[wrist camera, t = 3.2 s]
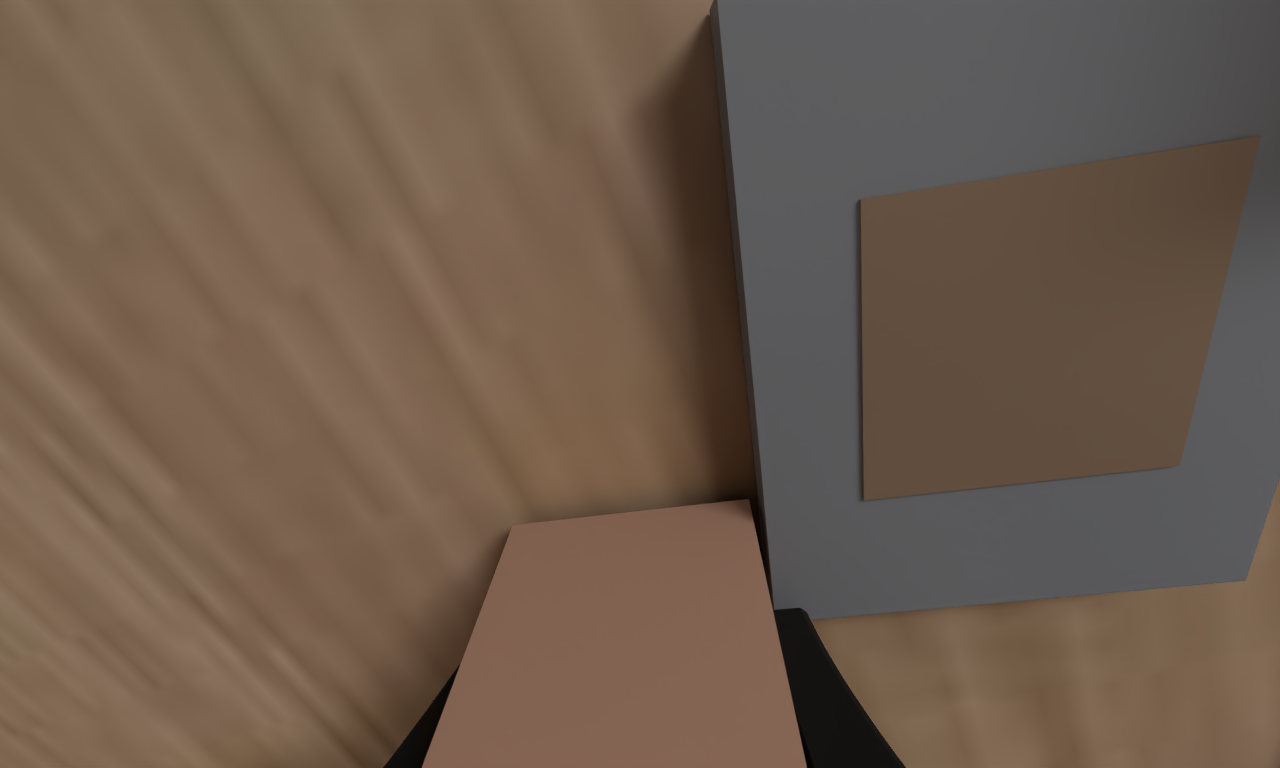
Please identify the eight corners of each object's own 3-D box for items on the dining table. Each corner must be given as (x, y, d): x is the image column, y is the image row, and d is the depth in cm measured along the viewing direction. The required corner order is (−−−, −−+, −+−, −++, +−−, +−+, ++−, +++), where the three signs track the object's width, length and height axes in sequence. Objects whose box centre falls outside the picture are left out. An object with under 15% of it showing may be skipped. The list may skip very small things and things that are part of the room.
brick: (767, 671, 13) (823, 983, 8) (563, 687, 13) (508, 992, 9) (748, 498, 11) (809, 776, 6) (512, 524, 11) (409, 800, 7)
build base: (1189, 535, 11) (1249, 583, 10) (765, 576, 12) (776, 625, 11) (1364, -118, 7) (1499, -164, 6) (709, 9, 8) (716, -8, 7)
